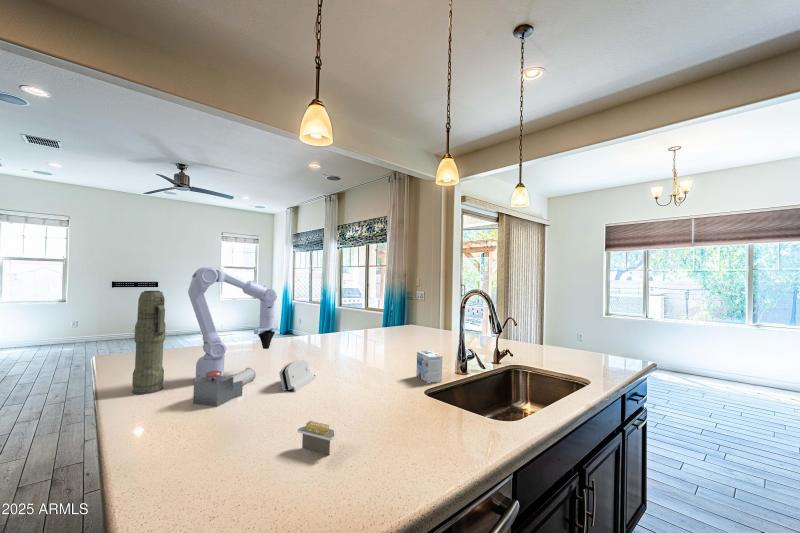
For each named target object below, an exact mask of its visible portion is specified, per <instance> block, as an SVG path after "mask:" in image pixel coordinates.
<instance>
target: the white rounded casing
mask: <svg viewBox="0 0 800 533" xmlns="http://www.w3.org/2000/svg"><path fill="white" fill-rule="evenodd" d="M278 374H279V379H280V383H281V389H282V391H283V392H285V391H287V390H288V391H290V390H293V392H294V393H297V392H298V391H300V390H301V389H302V388H304V387H306V386H307V385H309V384H310V383H312V382H313V381H315V380H316V376H315V374H313V373H312V372H311V370H310V366H309V363H308V361H307V360H305V359H297V360H294V361H291V362H288V363H287V364H285V365H284V366H283V367H281V370H280V371H279V373H278ZM314 379H315V380H314ZM311 381H312V382H311Z"/></svg>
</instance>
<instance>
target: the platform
mask: <svg viewBox="0 0 800 533" xmlns="http://www.w3.org/2000/svg"><path fill="white" fill-rule="evenodd" d="M297 433H299V434H302V442H301V443H302V445H301V446H302V447H301V448H302V449H305V450H308V451H312V452H315V453H319V454H322V455H327V456H330V455H331V454H330V453H331V441H333V440H334V439H335V436H336V435H335V430H334V429H332V428H331V429H330V425H329V424H327V423H323V422H318V421H314V420H309V421H308V422H306V423H305V426H302V427H299V428H298V429H297Z"/></svg>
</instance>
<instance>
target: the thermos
mask: <svg viewBox="0 0 800 533" xmlns="http://www.w3.org/2000/svg"><path fill="white" fill-rule="evenodd" d="M137 300H138V303H137V321H136V323H135V325H134V339H133V340H134V343H135V356H134V359H135V360H134V370H133V372H132V383H131V384H132V394H133V395H149V394H154V393H157V392H160V391H162V390H163V388H164V387H163V384H164V383H163V382H164V378H165V370H164V366H163V357H164V356H163V355H164V354H163V353H164V341H165V340H166V328H167V326H166V322H165V318H166V316H165V315H166V309H165V301H166V300H165V296H164V293H163V291H160V290H143V291H141V293H140V295H139V297H138V299H137Z"/></svg>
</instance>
